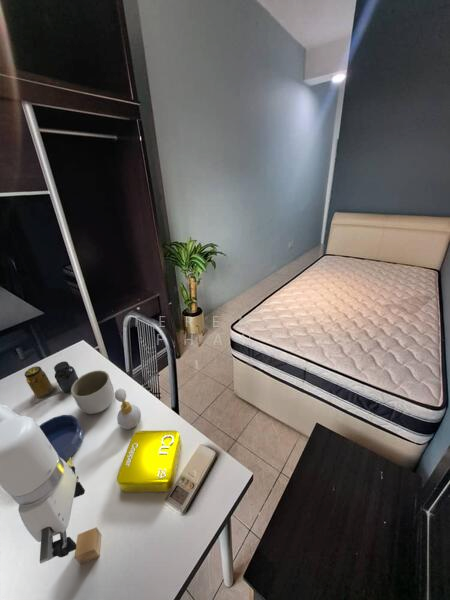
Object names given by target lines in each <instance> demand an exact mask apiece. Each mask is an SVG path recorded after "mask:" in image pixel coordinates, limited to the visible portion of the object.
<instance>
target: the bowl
mask: <svg viewBox="0 0 450 600" xmlns="http://www.w3.org/2000/svg"><path fill="white" fill-rule="evenodd" d="M39 427H40V428H41V430H42V431H43V433H44V434H45V436H46V437H47V439H48V440H49V442H50V443H51V445H52V446H53V448H54V449H55V451H56V452H57V454H58V455H59V457H60V458H61V459H63V460H64V459H66V458H69V457H71V458H72V457H73V455H75V453H76V452H77V451H78V449H79V448H80V446H81V444H82V442H83V439H84V435H85V432H84V430H83V427H82V424H81V423H80V420H79V419H78V417H76V416H74V415H73V414H61V415H57V416H54V417H51V418H50V419H48V420H46V421H44V422H42V423H41V424H40V425H39Z"/></svg>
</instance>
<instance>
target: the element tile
mask: <svg viewBox="0 0 450 600" xmlns="http://www.w3.org/2000/svg"><path fill="white" fill-rule="evenodd" d="M181 448H182V439H181V435H180V432H179V431H178V430H138V431H136V432H134V433H133V434H132V436H131V439H130V441H129V444H128V447H127V449H126V452H125V454H124V457H123V460H122V463H121V465H120V468H119V471H118V474H117V476H116V482H117V483H118V485H119V487H120V488H119V489H121V491H122V492H126V493H127V492H128V493H129V492H130V493H167V492H169V491H170V490H171V489H172V488H173V487H174V484H175V479H176V475H177V470H178V464H179V460H180V459H179V458H180V454H181V450H182V449H181ZM172 486H173V487H172Z"/></svg>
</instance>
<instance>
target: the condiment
mask: <svg viewBox="0 0 450 600" xmlns="http://www.w3.org/2000/svg"><path fill="white" fill-rule="evenodd" d="M24 377H25V379H26V383H27V385H28V386H29V388H30V390H31V391H32V393H33V395H34V400H35V401H34V403H35V404H36V403H38V402H41V401H43V400H45V399H47V398H50V397H52V396H54V395H56V394H58V393H60V392H61V388H60V386H59V384H58V383H57V381H55V382H53V383H52V382H51V381H50V379H49V377H48V376H47V374H46V372H45V370H43V369H42V367H41V366H39V365H38V366H37V365H35V366H31V367H30V368H28V369H26V370H25V372H24Z"/></svg>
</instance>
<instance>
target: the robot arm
mask: <svg viewBox="0 0 450 600" xmlns="http://www.w3.org/2000/svg"><path fill="white" fill-rule="evenodd" d="M39 426H40V425H39V424H38V423H37V421H36V420H35V419H33V418H32V417H30V416H27V415H20V414H18V413H16V412H14V410H12V408H10V407H9V406H7V405H5V404H4V403H3V404H2V403H0V487H1V488H2V489H3V490H4V491H5V492H6V493H7V494H8V496H10V497H11V498H12V499H13V500H14V501H15V503H16V504H18V509H17V510H18V513H19V516H20V519H21V521H22V523H23V525H24V527H25V529H26V530H27V532H28V533H29V534H30V535H31V536H32V538H33V539H34V540H35V541H36V542H38V543H40V548H39V564H43V563H46V562H49V561H50V560H52V559H54V558H56V557H58V558H64V557H66V556H68V555H69V553H71V552H73V551H75V549H76V542H75V541H74V540H73V538H71V536H67V529H68V526H69V523H70V519H71V514H72V509H73V503H74V500H75V498H78V497H80V496H83V495H84V494H85V492H86V489H85V488H84V486H83V485H82V483H81V482H80V481H79V475H76V466H74V463H73V459H72V456H71V457H69V458H66V459H64V460H63V459H61V458H60V457H59V455H58V454H57V452H56V451H55V449H54V448H53V446H52V445H51V443H50V442H49V440H48V439H47V437H46V436H45V434H44V433H43V431H42V430H41V428H40V427H39ZM58 535H59V539H57V540H54V536H58Z"/></svg>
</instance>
